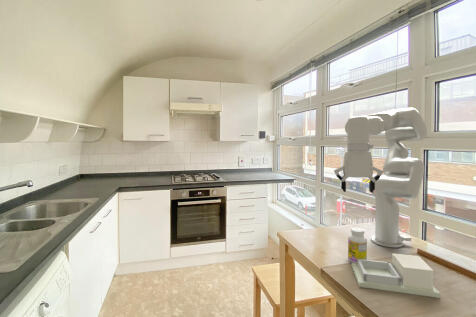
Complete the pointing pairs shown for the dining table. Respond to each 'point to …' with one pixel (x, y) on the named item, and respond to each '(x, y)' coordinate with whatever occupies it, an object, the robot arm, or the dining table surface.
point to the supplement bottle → (357, 245)
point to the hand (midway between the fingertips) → (357, 191)
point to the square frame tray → (397, 275)
